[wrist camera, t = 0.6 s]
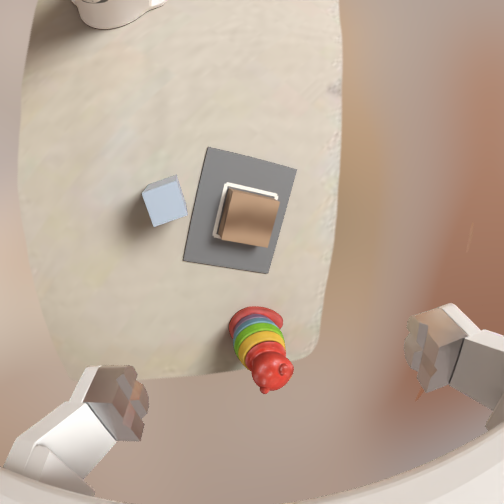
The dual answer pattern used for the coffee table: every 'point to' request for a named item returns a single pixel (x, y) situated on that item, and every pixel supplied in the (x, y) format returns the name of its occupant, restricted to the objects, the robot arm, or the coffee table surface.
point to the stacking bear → (261, 346)
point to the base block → (248, 218)
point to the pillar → (164, 200)
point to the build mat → (213, 201)
